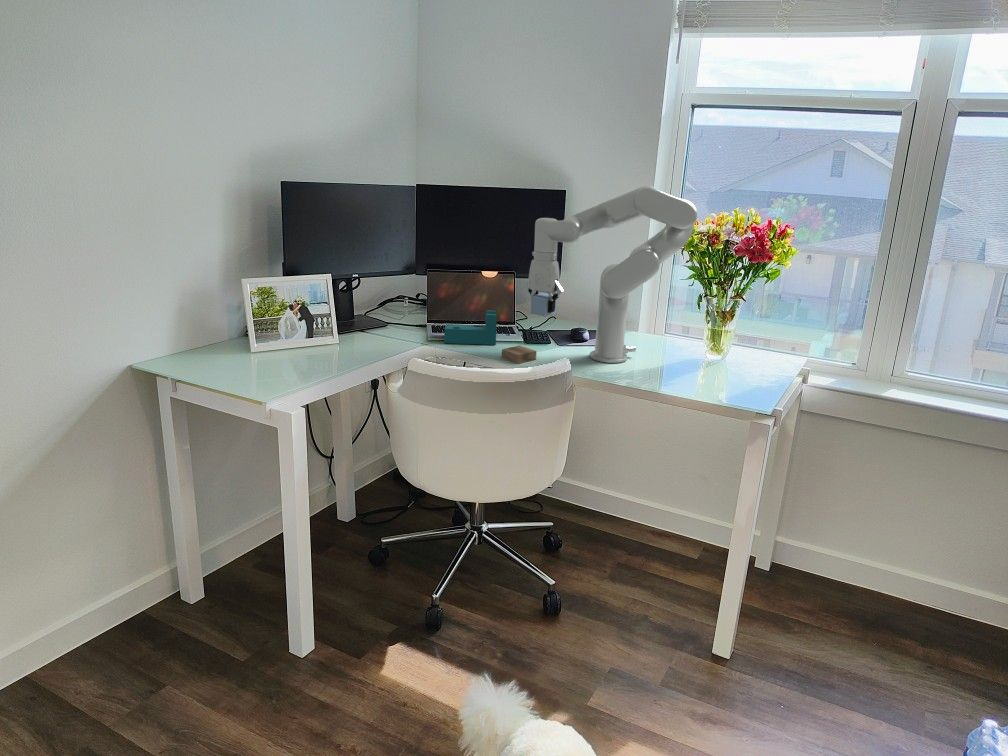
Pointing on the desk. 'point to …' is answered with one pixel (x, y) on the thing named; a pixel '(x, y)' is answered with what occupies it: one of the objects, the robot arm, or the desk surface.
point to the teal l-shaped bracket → (473, 332)
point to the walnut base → (519, 354)
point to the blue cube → (540, 304)
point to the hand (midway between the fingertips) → (543, 309)
